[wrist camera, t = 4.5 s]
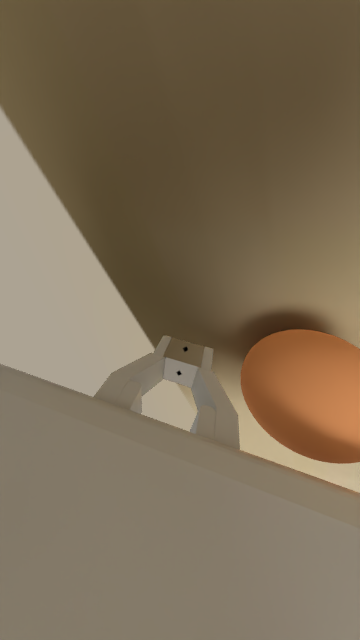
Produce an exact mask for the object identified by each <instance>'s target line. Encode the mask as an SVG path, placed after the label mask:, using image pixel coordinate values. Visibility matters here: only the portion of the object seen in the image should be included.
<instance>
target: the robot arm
mask: <svg viewBox="0 0 360 640" xmlns="http://www.w3.org/2000/svg"><path fill="white" fill-rule="evenodd" d="M212 360H213V348H209V347H204V346H201V345H198V344H194V343H190V342H187V341H183V340H180V339H177V338H173V337H170V336H166V335H164V336H163V337H162V338H161V340H160V342H159V344H158V346H157V347H156V349H155V351H154V353H153V354H152V353H150V354H148V355H146V356H144V357H142V358H140V359H138V360H136V361H134V362H132V363H130V364H128V365H126V366H124V367H122V368H120V369H118V370H117V371H115V372H113V373H111V374H110V376H109V377H108V378H107V380H106V381H105V382H104V384H103V385H102V386H101V388H100V389H99V390H98V392H97V393H96V394H95V396H94V397H92V396H88V395H86V394H83V393H80V392H77V391H75V390H72V389H69V388H66V387H64V386H61V385H58V384H55V383H52V382H50V381H47V380H44V379H41V378H38V377H36V376H33V375H30V374H27V373H25V372H22V371H19V370H16V369H14V368H11V367H8V366H5V365H3V364H0V640H360V493H358V492H355V491H353V490H350V489H347V488H344V487H342V486H339V485H336V484H333V483H330V482H328V481H325V480H322V479H319V478H316V477H314V476H311V475H308V474H305V473H303V472H300V471H297V470H294V469H291V468H289V467H286V466H283V465H280V464H278V463H275V462H272V461H269V460H266V459H264V458H261V457H258V456H255V455H253V454H250V453H247V452H244V451H241V450H240V444H239V424H238V414H237V412H236V411H235V409H234V407H233V405H232V404H231V402H230V400H229V398H228V396H227V395H226V393H225V391H224V389H223V387H222V386H221V384H220V382H219V380H218V378H217V377H216V375H215V373H214V372H212V371H211V369H212ZM162 379H165V380H169V381H172V382H176V383H179V384H181V385H184V386H187V387H190V388H191V390H192V393H193V396H194V400H195V403H196V406H197V409H198V413H197V415H196V418H195V420H194V422H193V425H192V427H191V429H190V432H189V431H186V430H183V429H180V428H178V427H175V426H172V425H169V424H167V423H164V422H161V421H158V420H155V419H153V418H150V417H147V416H144V415H142V414H141V412H142V401H141V397H142V396H143V395H144V394H145V393H147V392H148V391H149V390H150V389H152V388H153V387H154V386H155V385H157V384H158V383H159V382H160V381H162Z"/></svg>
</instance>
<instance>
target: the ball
mask: <svg viewBox="0 0 360 640" xmlns="http://www.w3.org/2000/svg"><path fill="white" fill-rule="evenodd" d="M241 388H242V393H243V396H244V399H245V402H246V404H247V406H248V408H249V410H250V412H251V413H252V415H253V416H254V418H255V419H256V421H257V422H258V423H259V424H260V425H261V427H262V428H263V429H264V430H265V431H266V432H267V433H268V434H269V435H270V436H272V437H273V438H274V439H275V440H277V441H278V442H279V443H281V444H282V445H284V446H285V447H287V448H289V449H291V450H292V451H294V452H296V453H298V454H301V455H303V456H306V457H308V458H311V459H314V460H318V461H322V462H328V463H342V464H343V463H356V462H360V349H359V348H357V347H356V346H354V345H352V344H350V343H349V342H347V341H345V340H343V339H340V338H338V337H336V336H333V335H330V334H326V333H323V332H319V331H313V330H303V329H293V330H285V331H280V332H277V333H274V334H271V335H269V336H267V337H265V338H263V339H262V340H260V341H259V342H258V343H256V344H255V345H254V346H253V347H252V348H251V349H250V351H249V352H248V354H247V355H246V357H245V360H244V362H243V365H242V370H241Z"/></svg>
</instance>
